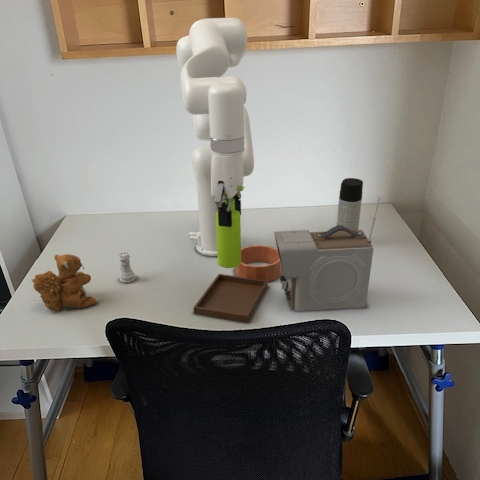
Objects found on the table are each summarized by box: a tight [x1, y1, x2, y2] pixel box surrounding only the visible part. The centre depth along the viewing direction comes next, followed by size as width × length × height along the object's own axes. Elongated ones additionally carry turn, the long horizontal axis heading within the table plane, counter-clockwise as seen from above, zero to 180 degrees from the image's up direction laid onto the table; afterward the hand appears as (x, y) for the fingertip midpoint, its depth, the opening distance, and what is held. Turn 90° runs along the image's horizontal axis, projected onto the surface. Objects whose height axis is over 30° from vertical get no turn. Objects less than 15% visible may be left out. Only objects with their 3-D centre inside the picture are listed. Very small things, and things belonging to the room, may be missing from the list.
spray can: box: [336, 177, 364, 230], centre depth 162 cm, size 7×7×20 cm
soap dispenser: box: [216, 185, 245, 269], centre depth 129 cm, size 6×7×20 cm
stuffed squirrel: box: [31, 254, 98, 312], centre depth 137 cm, size 10×14×13 cm
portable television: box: [273, 195, 381, 312], centre depth 131 cm, size 12×24×30 cm, turn 94°
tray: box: [193, 273, 269, 324], centre depth 140 cm, size 14×18×2 cm
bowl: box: [234, 244, 283, 283], centre depth 152 cm, size 13×13×5 cm
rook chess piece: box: [117, 251, 136, 284], centre depth 149 cm, size 4×4×8 cm
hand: (230, 219), depth 128 cm, fingers closed on soap dispenser, 5 cm apart
